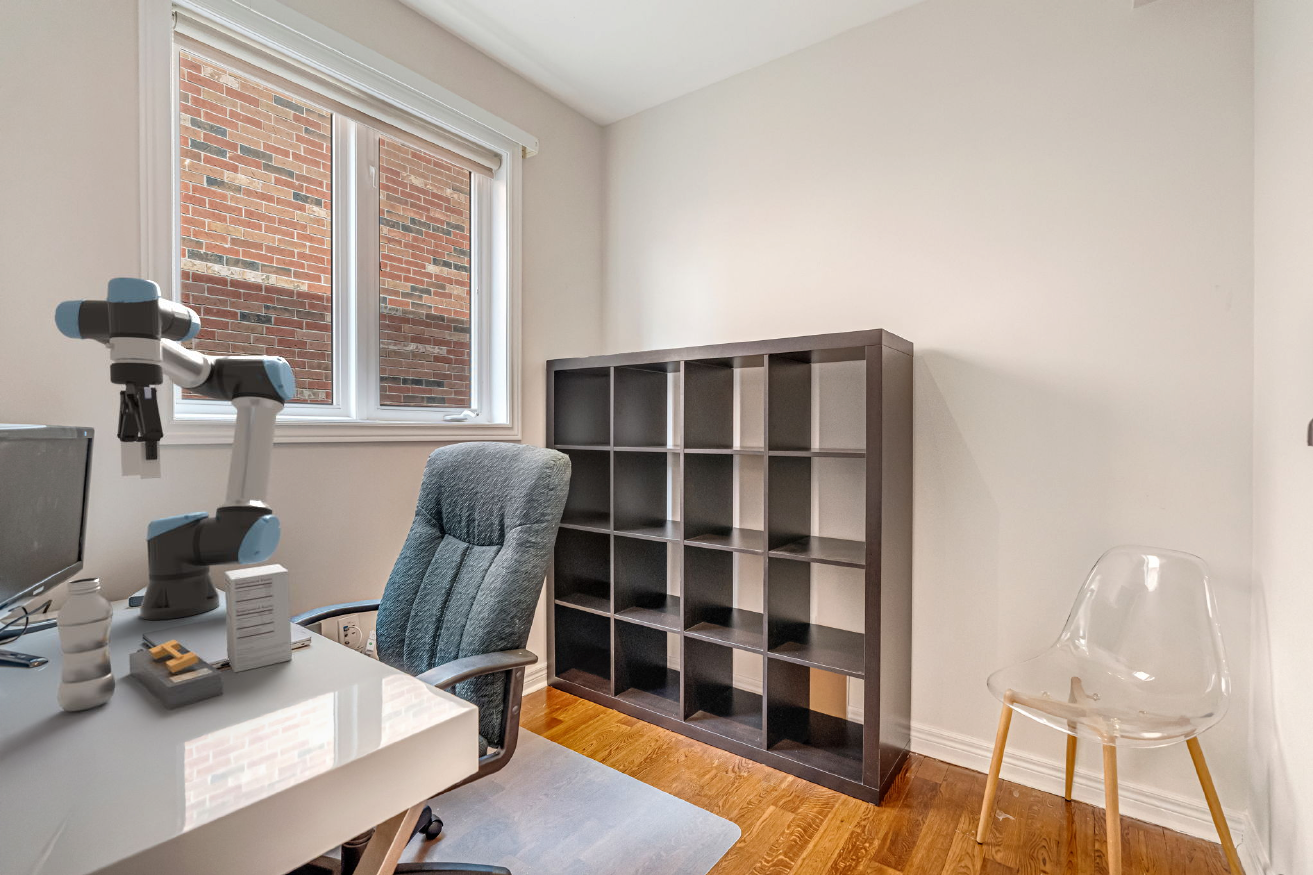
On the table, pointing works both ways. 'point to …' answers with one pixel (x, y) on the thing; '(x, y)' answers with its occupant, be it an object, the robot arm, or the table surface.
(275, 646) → the supplement box
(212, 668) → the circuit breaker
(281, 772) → the table surface
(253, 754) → the table surface
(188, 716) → the table surface
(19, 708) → the table surface
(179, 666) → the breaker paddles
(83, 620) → the plastic bottle
